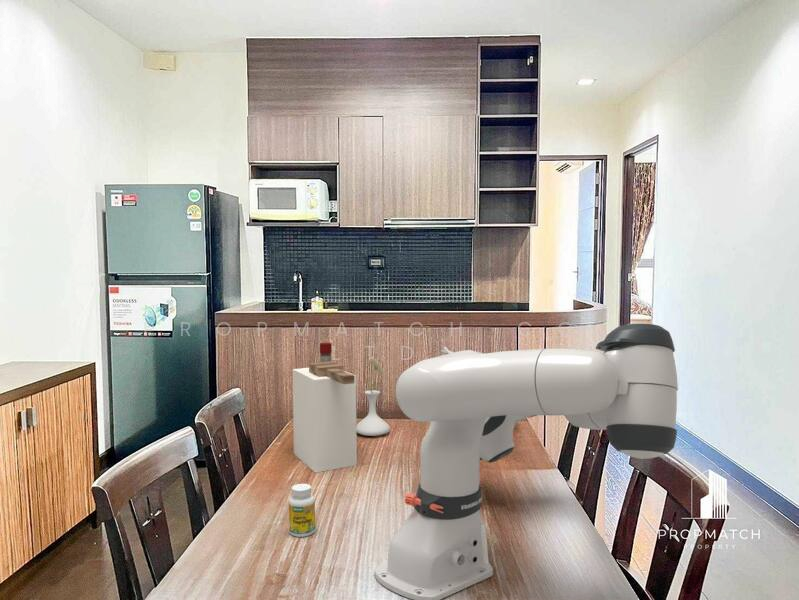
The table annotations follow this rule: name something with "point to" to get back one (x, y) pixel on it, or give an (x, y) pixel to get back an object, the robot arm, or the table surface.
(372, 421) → the flower in vase
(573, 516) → the table surface
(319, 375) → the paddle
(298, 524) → the supplement bottle
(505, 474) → the table surface
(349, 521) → the table surface
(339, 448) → the stand
